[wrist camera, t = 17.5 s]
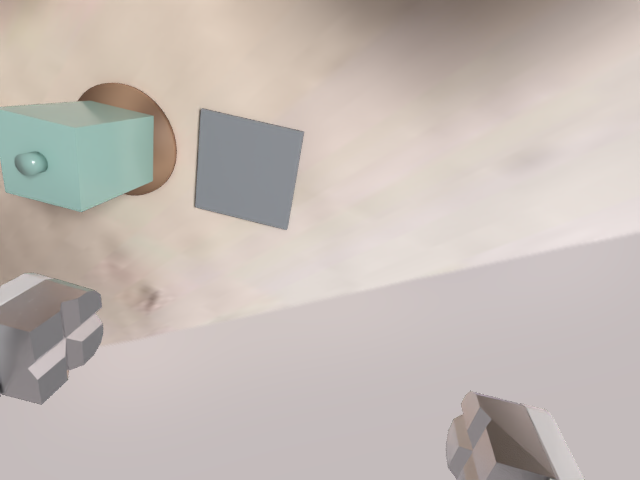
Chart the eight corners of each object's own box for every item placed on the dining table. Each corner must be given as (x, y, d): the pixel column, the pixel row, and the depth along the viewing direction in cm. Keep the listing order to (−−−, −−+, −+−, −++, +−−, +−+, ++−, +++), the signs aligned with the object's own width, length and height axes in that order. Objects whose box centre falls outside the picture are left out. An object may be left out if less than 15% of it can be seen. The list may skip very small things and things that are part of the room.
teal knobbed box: (93, 166, 39) (-9, 196, 29) (90, 100, 36) (-25, 108, 26) (152, 181, 39) (69, 217, 28) (153, 115, 36) (61, 129, 26)
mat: (197, 205, 40) (195, 207, 39) (202, 108, 35) (200, 108, 35) (287, 228, 39) (286, 229, 39) (304, 131, 35) (303, 132, 34)
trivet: (58, 139, 39) (53, 140, 39) (109, 56, 35) (104, 56, 34) (140, 213, 41) (136, 215, 41) (197, 143, 37) (194, 144, 36)
